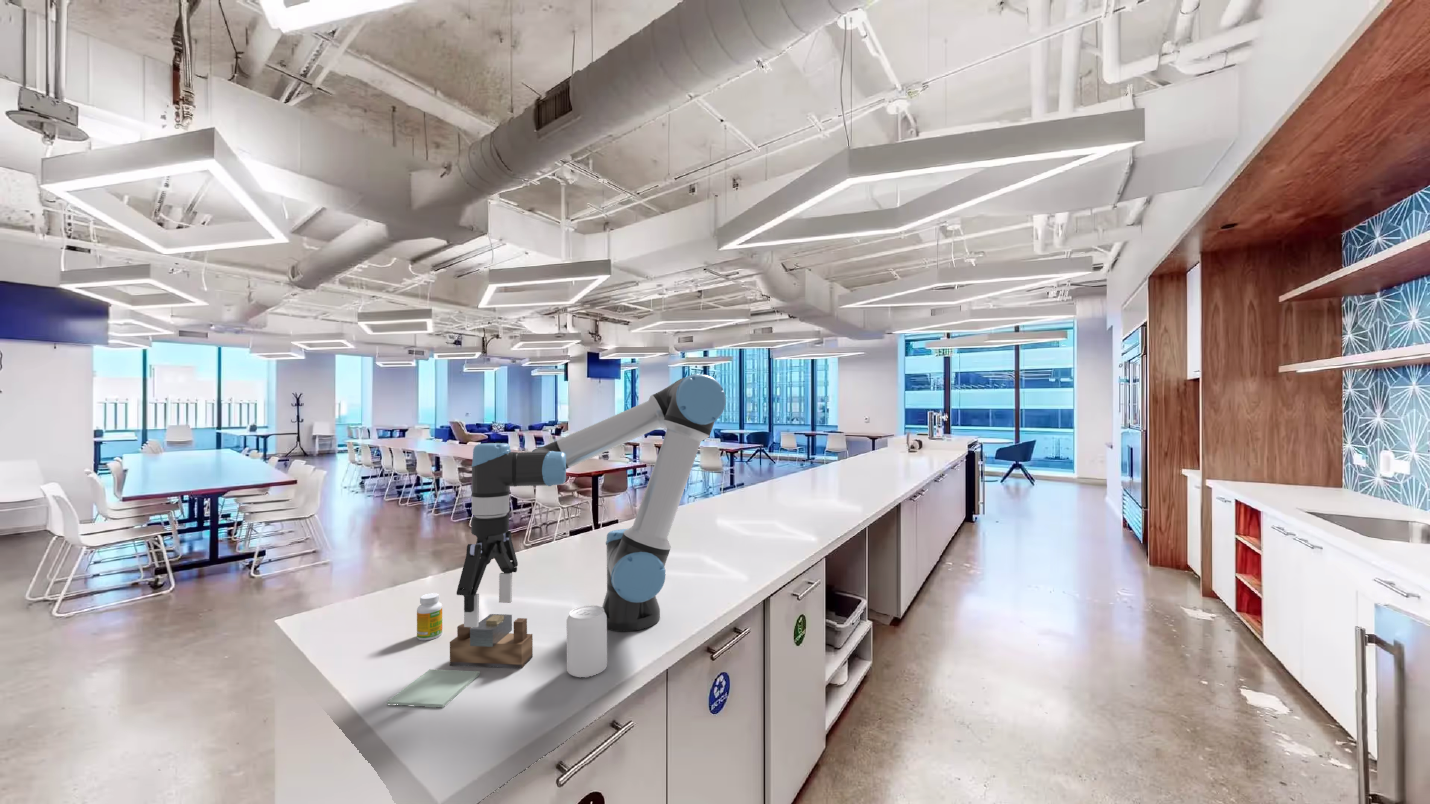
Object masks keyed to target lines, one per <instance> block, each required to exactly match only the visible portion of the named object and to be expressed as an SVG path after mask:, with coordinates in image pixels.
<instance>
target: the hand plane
mask: <svg viewBox="0 0 1430 804" xmlns="http://www.w3.org/2000/svg"><path fill="white" fill-rule="evenodd" d="M471 628H472V627H464V623H462V624H459V625H458V626H457V627H456V629H457V630H456V632H457V634H456V635H457V636H456V637H454V638H453V639H451V640H450V641H449V666H453V667H474V668H475V667H477V668H479V667H480V668H499V669H500V668H502V669H523V668H524V666H525V667H526V665H527V663H529V662H530V661H531V659H532V658H533V657H534V656H533V655H534V650H533V648H534V647H533V645H534V644H533V633H528V618H525V617H517V618H516V619H515V620H513V633H511V632H510V633H508V634H507V635H506V636H505V637H504V638H503V639H501V640H500V641H499V642H498V643H497V644H495V645H494V646H493V647H485V646H470V629H471Z"/></svg>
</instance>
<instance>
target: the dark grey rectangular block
mask: <svg viewBox="0 0 1430 804" xmlns="http://www.w3.org/2000/svg"><path fill="white" fill-rule="evenodd" d="M511 632H513V614H502V613H501V614H500V613H499V614H496V613H495V614H494V613H490V614H488V616H486V617H485V618H483V619H482V620H480V621H479V626H478V627H472V628H471V629H470V646H485V647H493V646H494V645H495V644H497V643H498V642H499V641H500V640H501V639H503V638H504V637H505V636H506V635H507V634H508V633H511Z"/></svg>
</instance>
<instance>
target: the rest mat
mask: <svg viewBox="0 0 1430 804" xmlns="http://www.w3.org/2000/svg"><path fill="white" fill-rule="evenodd" d="M479 676H481V672H480V671H479V670H478V671H477V670H457V669H456V670H452V669H431V668H430V669H428V670H427V671H425V672H424V673H422V674H421V675H420V676H419V677H418V678H416V679H415V680H414V681H413V682H412V683H410V684H408V685H407V686H406V687H405V688H403V689H402V690H401V691H399V692H398V693H396V694H395V695H394V696H393V697H391V698H390V699H389V700H388V701H387V702H386V705H387V704H396V705H397V704H398V705H414V706H413V707H415V706H425V707H424V708H436V707H443V708H445V707H446V706H447V705H448V704H449V703H450V702H451V701H452V700H453V699H454V698H456V697H457V696H458V695H459V694H460V693H461V692H462V691H463V690H464V689H465V688H466V686H467V687H468V686H469V685H470V684H471V683H473V681H474V680H475V679H476V678H479ZM456 695H457V696H456ZM451 699H452V700H451ZM449 701H450V702H449ZM448 702H449V703H448ZM447 703H448V704H447ZM446 704H447V705H446ZM445 705H446V706H445ZM444 706H445V707H444Z"/></svg>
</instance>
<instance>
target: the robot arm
mask: <svg viewBox="0 0 1430 804" xmlns="http://www.w3.org/2000/svg"><path fill="white" fill-rule="evenodd" d="M726 398H727V397H726V393H725V391H724V388H723V386H722V385H721V384H720V382H719V381H718V380H717V379H715V378H713V377H712V376H710V375H707V374H703V373H702V374H701V373H692V374H690V375H688V376H685V377H682V378H680V379H678V380H676V381H675V382H672V384H670V385H669V386H667V387H665V388H664V389H662V390H660V391H658V392H656V393H654V394H651V395H649V399H648V400H647V401H645V402H642V403H641V404H640V403H639V404H638V405H635V406H633V407H631V408H628V409H626V410H624V411H621V412H619V413H617V414H615V415H613V416H610V417H608V418H605V419H602V420H601V421H599V422H596V423H594V424H592V425H589V426H588V427H584V428H582V429H579V430H578V431H576V432H573V433H571V434H569V435H567V436H564V437H561V438H559V439H557V440H556V441H553V442H550V443H548V444H545V445H544V446H539V447H537V448H535V449H533V450H532V451H525V452H523V451H522V452H519V451H516V452H515V451H512V449H511V446H510V444H509V443H506V442H502V443H501V442H495V443H494V442H488V443H478V444H477V445H474V447H473V449H472V462H471V463H472V464H471V496H472V497H471V501H470V502H471V514H472V515H473V516H472V517H471V524H470V525H471V527H470V528H471V529H470V531H471V535H473V536H476V542H475V543H468V544H467V546H466V554H465V559H464V563H463V567H462V571H461V574H460V577H459V582H458V585H457V589H456V595H457V596H463V599H464V600H463V624H464V627H478V626H479V622H480V621H479V619H480V594H479V593H477V592H478V591H479V587H480V584H481V581H482V579H483V576H484V574H485V570H486V568H487V566H488V565H490V563H491V562H492V560H493V559H494V560H495V562H496V563H497V565H498V567H499V569H500V571H501V572H500V573H499V576H498V580H499V581H498V585H499V586H498V603H503V604H505V603H506V604H510V603H512V602H513V573H517V571H518V564H519V563H518V559H517V556H516V552H515V548H514V543H513V540H512V531H511V530H510V515H509V514H508V513H509V512H510V487H515V488H516V487H537V486H538V487H540V486H541V487H543V486H547V487H552V486H559V485H560V486H561V485H564V483H565V482H566V480H567V470H568V469H569V468H572V467H574V466H576V465H579V464H580V463H581V464H582V463H583V462H585V461H587V460H590V459H592V458H594V457H596V456H599V455H601V454H603V453H606V452H608V451H610V450H612V449H615V448H616V447H618V446H622V445H624V444H626V443H628V442H630V441H632V440H635V439H636V438H640V437H641V436H644V435H646V434H648V433H651V432H653V431H655V430H657V429H659V428H662V429H664V430H666V432H665V434H664V438H663V441H662V444H661V446H660V449H659V452H658V455H657V458H656V460H655V462H654V466H653V469H652V471H651V474H650V477H649V479H648V482H647V486H646V489H645V490H644V493H643V497H642V499H641V502H640V505H639V508H638V510H637V513H636V516H635V519H634V522H633V525H632V526H631V527H629V528H622V529H616V530H610V531H609V532H608V533H607V534H606V541H605V545H606V593H605V596H604V599H603V603H602V606H601V607H602V608H604V612H605V613H606V616H607V630H610V631H613V632H614V631H615V632H634V631H635V632H636V631H640V630H644V628H645V629H647V628H650V627H652V626H654V625H655V624H657V623H658V622H659V621H660V619H661V608H660V605H659V602H658V599H657V595H658V594H659V593H660V592H661V590H662V589H663V586H664V584H665V581H666V567H665V566H666V563H667V560H668V557H669V555H670V552H671V548H672V547H671V544H670V542H669V541H670V540H669V539H668V538H669V535H670V531H671V529H672V526H673V523H674V520H675V517H676V514H677V511H678V509H679V507H680V503H681V499H682V497H683V495H684V491H685V488H686V486H687V483H688V479H689V477H690V474H691V471H692V468H693V466H694V462H695V459H696V457H697V454H698V451H699V449H700V445H701V443H702V442H703V441H705V440H706V439H708V438H710V435H711V432H712V431H713V430H712V429H713V426H714V424H715V422H716V421H717V420H718V419H719V418H720V417H721V416H722V414H723V413H724V410H725V407H726V403H727V400H726Z"/></svg>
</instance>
